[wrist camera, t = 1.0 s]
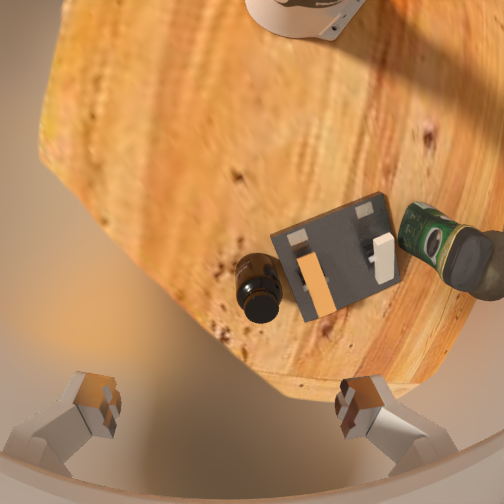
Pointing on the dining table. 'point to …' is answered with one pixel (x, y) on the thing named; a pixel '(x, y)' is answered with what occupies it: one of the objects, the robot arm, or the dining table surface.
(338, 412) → the robot arm
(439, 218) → the coffee jar
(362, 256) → the panel
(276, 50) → the dining table surface
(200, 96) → the dining table surface
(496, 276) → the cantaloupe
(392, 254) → the paddle
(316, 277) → the paddle
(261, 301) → the supplement bottle
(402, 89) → the dining table surface
